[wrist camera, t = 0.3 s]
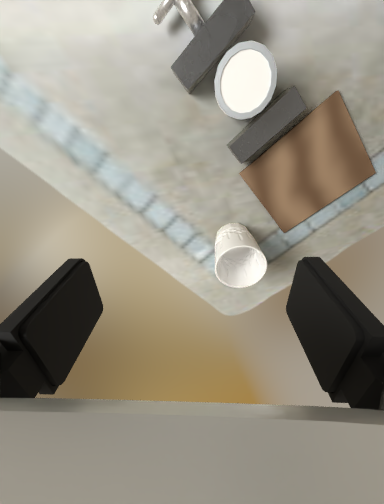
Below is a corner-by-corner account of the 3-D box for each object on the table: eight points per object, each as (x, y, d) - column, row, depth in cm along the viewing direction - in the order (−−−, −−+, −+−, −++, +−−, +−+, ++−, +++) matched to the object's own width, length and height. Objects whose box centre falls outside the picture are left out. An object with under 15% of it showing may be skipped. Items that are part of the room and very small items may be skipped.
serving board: (335, 91, 28) (338, 90, 28) (373, 172, 33) (375, 172, 33) (239, 173, 34) (239, 174, 34) (283, 231, 39) (284, 233, 39)
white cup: (261, 241, 41) (276, 271, 32) (227, 262, 43) (233, 295, 35) (238, 211, 38) (249, 235, 29) (204, 235, 40) (204, 264, 32)
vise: (206, -51, 23) (207, -78, 20) (295, 109, 30) (306, 107, 27) (146, 36, 26) (139, 24, 23) (238, 160, 33) (241, 163, 30)
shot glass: (205, 72, 28) (206, 57, 22) (257, 49, 27) (273, 26, 21) (218, 128, 31) (222, 128, 25) (265, 110, 30) (281, 106, 24)
